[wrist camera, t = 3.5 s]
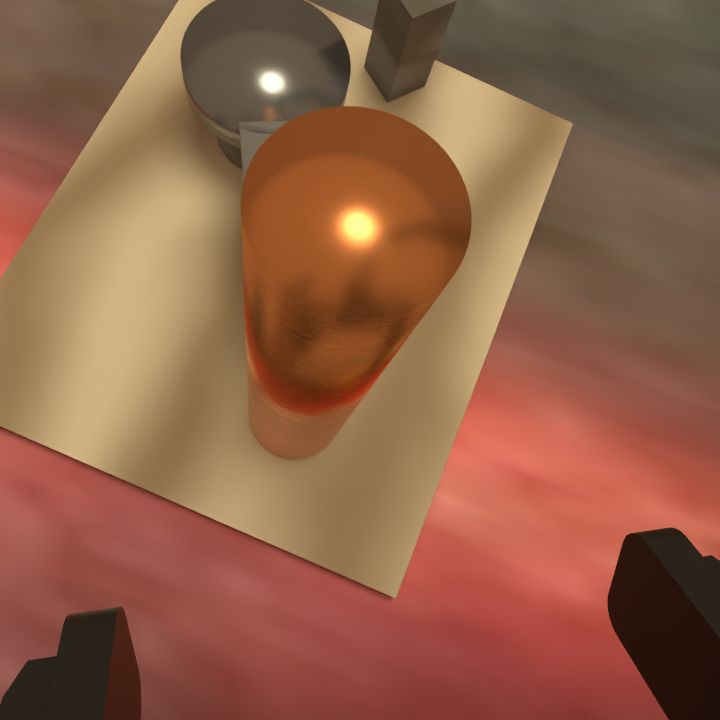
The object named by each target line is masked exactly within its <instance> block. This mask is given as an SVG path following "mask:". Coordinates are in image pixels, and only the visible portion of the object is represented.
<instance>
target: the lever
mask: <svg viewBox="0 0 720 720" xmlns="http://www.w3.org/2000/svg"><path fill="white" fill-rule="evenodd" d="M180 61H181V68H182V74H183V81H184V87H185V93H186V96H187V99H188V102H189V104H190V106H191V108H192V110H193V112H194V113H195V115H196V116H197V118H198V119H199V120H200V121H201V123H202V124H203V125H204V126H205V127H206V128H207V129H208V130H209V131H211V132H212V133H213V134H214V135H216V136H217V137H219V138H220V139H222V140H224V141H225V142H227V143H229V144H231V145H234V146H236V147H239V148H240V152H241V163H242V173H243V185H242V192H241V228H242V253H243V279H244V304H245V329H246V354H247V379H248V405H249V420H250V425H251V428H252V431H253V433H254V435H255V437H256V438H257V440H258V441H259V442H260V443H261V445H263V446H264V447H265V448H266V449H267V450H269V451H270V452H272V453H274V454H276V455H278V456H281V457H284V458H290V459H301V458H306V457H309V456H312V455H315V454H317V453H319V452H320V451H322V450H323V449H324V448H325V447H327V446H328V445H329V444H330V442H331V441H332V440H333V439H334V437H335V436H336V435H337V433H338V432H339V430H340V429H341V428H342V426H343V425H344V424H345V422H346V421H347V420H348V418H349V417H350V416H351V414H352V413H353V412H354V410H355V409H356V407H357V406H358V405H359V403H360V402H361V401H362V399H363V398H364V397H365V395H366V394H367V393H368V391H369V390H370V389H371V387H372V386H373V384H374V383H375V382H376V380H377V379H378V378H379V376H380V375H381V374H382V372H383V371H384V370H385V368H386V367H387V366H388V364H389V363H390V361H391V360H392V359H393V357H394V356H395V355H396V353H397V352H398V351H399V349H400V348H401V347H402V345H403V344H404V342H405V341H406V340H407V338H408V337H409V336H410V334H411V333H412V332H413V330H414V329H415V328H416V326H417V325H418V324H419V322H420V321H421V319H422V318H423V317H424V315H425V314H426V313H427V311H428V310H429V309H430V307H431V306H432V305H433V303H434V302H435V301H436V299H437V298H438V296H439V295H440V294H441V292H442V291H443V290H444V288H445V287H446V286H447V284H448V283H449V282H450V280H451V279H452V277H453V276H454V274H455V273H456V272H457V270H458V269H459V267H460V265H461V263H462V261H463V259H464V257H465V254H466V251H467V248H468V245H469V240H470V235H471V223H472V215H471V206H470V200H469V196H468V192H467V189H466V186H465V184H464V181H463V178H462V176H461V174H460V172H459V171H458V169H457V167H456V165H455V164H454V162H453V161H452V159H451V158H450V157H449V155H448V154H447V153H446V151H445V150H444V149H443V148H442V147H441V146H440V145H439V144H438V143H437V142H436V141H435V140H434V139H433V138H432V137H430V136H429V135H428V134H427V133H426V132H424V131H423V130H421V129H420V128H418V127H417V126H415V125H414V124H412V123H410V122H408V121H406V120H404V119H402V118H400V117H398V116H395V115H393V114H390V113H388V112H384V111H380V110H376V109H372V108H365V107H358V106H344V104H345V100H346V95H347V90H348V86H349V81H350V73H351V62H350V55H349V51H348V48H347V45H346V42H345V40H344V38H343V36H342V34H341V33H340V31H339V30H338V28H337V27H336V25H335V24H334V23H333V22H332V21H331V20H330V19H329V18H328V16H326V15H325V14H324V13H323V12H322V11H321V10H319V9H318V8H316V7H315V6H313V5H312V4H310V3H308V2H306V1H305V0H215V1H213V2H211V3H209V4H208V5H207V6H205V7H204V8H203V9H202V10H201V11H200V12H199V13H198V14H197V15H196V16H195V17H194V18H193V20H192V21H191V22H190V24H189V26H188V27H187V29H186V31H185V34H184V37H183V40H182V44H181V50H180Z"/></svg>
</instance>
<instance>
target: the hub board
mask: <svg viewBox="0 0 720 720" xmlns="http://www.w3.org/2000/svg"><path fill="white" fill-rule="evenodd" d="M213 1H215V0H179V1H178V3H177V4H176V6H175V7H174V9H173V10H172V12H171V13H170V15H169V17H168V18H167V20H166V21H165V23H164V24H163V26H162V28H161V29H160V31H159V32H158V34H157V35H156V37H155V38H154V40H153V42H152V43H151V45H150V46H149V48H148V49H147V51H146V53H145V54H144V56H143V57H142V59H141V60H140V62H139V63H138V65H137V67H136V68H135V70H134V71H133V73H132V74H131V76H130V77H129V79H128V81H127V82H126V84H125V85H124V87H123V88H122V90H121V92H120V93H119V95H118V96H117V98H116V99H115V101H114V102H113V104H112V106H111V107H110V109H109V110H108V112H107V113H106V115H105V116H104V118H103V120H102V121H101V123H100V124H99V126H98V127H97V129H96V131H95V132H94V134H93V135H92V137H91V138H90V140H89V141H88V143H87V145H86V146H85V148H84V149H83V151H82V152H81V154H80V155H79V157H78V159H77V160H76V162H75V163H74V165H73V166H72V168H71V170H70V171H69V173H68V174H67V176H66V177H65V179H64V180H63V182H62V184H61V185H60V187H59V188H58V190H57V191H56V193H55V195H54V196H53V198H52V199H51V201H50V202H49V204H48V205H47V207H46V209H45V210H44V212H43V213H42V215H41V216H40V218H39V219H38V221H37V223H36V224H35V226H34V227H33V229H32V230H31V232H30V234H29V235H28V237H27V238H26V240H25V241H24V243H23V244H22V246H21V248H20V249H19V251H18V252H17V254H16V255H15V257H14V258H13V260H12V262H11V263H10V265H9V266H8V268H7V269H6V271H5V273H4V274H3V276H2V277H1V279H0V427H3V428H5V429H7V430H10V431H12V432H14V433H17V434H19V435H21V436H23V437H26V438H28V439H30V440H33V441H35V442H37V443H40V444H42V445H44V446H46V447H49V448H51V449H53V450H56V451H58V452H60V453H62V454H65V455H67V456H69V457H72V458H74V459H76V460H79V461H81V462H83V463H85V464H88V465H90V466H92V467H95V468H97V469H99V470H101V471H104V472H106V473H108V474H111V475H113V476H115V477H118V478H120V479H122V480H124V481H127V482H129V483H131V484H134V485H136V486H138V487H140V488H143V489H145V490H147V491H150V492H152V493H154V494H157V495H159V496H161V497H163V498H166V499H168V500H170V501H173V502H175V503H177V504H179V505H182V506H184V507H186V508H189V509H191V510H193V511H196V512H198V513H200V514H202V515H205V516H207V517H209V518H212V519H214V520H216V521H218V522H221V523H223V524H225V525H228V526H230V527H232V528H235V529H237V530H239V531H241V532H244V533H246V534H248V535H251V536H253V537H255V538H257V539H260V540H262V541H264V542H267V543H269V544H271V545H274V546H276V547H278V548H280V549H283V550H285V551H287V552H290V553H292V554H294V555H297V556H299V557H301V558H303V559H306V560H308V561H310V562H313V563H315V564H317V565H319V566H322V567H324V568H326V569H329V570H331V571H333V572H336V573H338V574H340V575H342V576H345V577H347V578H349V579H352V580H354V581H356V582H358V583H361V584H363V585H365V586H368V587H370V588H372V589H375V590H377V591H379V592H381V593H384V594H386V595H388V596H391V597H393V598H396V596H397V594H398V591H399V588H400V586H401V583H402V580H403V577H404V575H405V572H406V569H407V567H408V564H409V561H410V559H411V556H412V553H413V551H414V548H415V545H416V543H417V540H418V537H419V535H420V532H421V529H422V527H423V524H424V521H425V519H426V516H427V513H428V510H429V508H430V505H431V502H432V500H433V497H434V494H435V492H436V489H437V486H438V484H439V481H440V478H441V476H442V473H443V470H444V468H445V465H446V462H447V460H448V457H449V454H450V452H451V449H452V446H453V443H454V441H455V438H456V435H457V433H458V430H459V427H460V425H461V422H462V419H463V417H464V414H465V411H466V409H467V406H468V403H469V401H470V398H471V395H472V393H473V390H474V387H475V385H476V382H477V379H478V376H479V374H480V371H481V368H482V366H483V363H484V360H485V358H486V355H487V352H488V350H489V347H490V344H491V342H492V339H493V336H494V334H495V331H496V328H497V326H498V323H499V320H500V318H501V315H502V312H503V309H504V307H505V304H506V301H507V299H508V296H509V293H510V291H511V288H512V285H513V283H514V280H515V277H516V275H517V272H518V269H519V267H520V264H521V261H522V259H523V256H524V253H525V251H526V248H527V245H528V242H529V240H530V237H531V234H532V232H533V229H534V226H535V224H536V221H537V218H538V216H539V213H540V210H541V208H542V205H543V202H544V200H545V197H546V194H547V192H548V189H549V186H550V184H551V181H552V178H553V175H554V173H555V170H556V167H557V165H558V162H559V159H560V157H561V154H562V151H563V149H564V146H565V143H566V141H567V138H568V135H569V133H570V130H571V127H572V125H573V123H570V122H568V121H566V120H564V119H562V118H560V117H557V116H555V115H553V114H551V113H549V112H547V111H544V110H542V109H540V108H538V107H536V106H534V105H531V104H529V103H527V102H525V101H523V100H521V99H519V98H516V97H514V96H512V95H510V94H508V93H506V92H503V91H501V90H499V89H497V88H495V87H493V86H490V85H488V84H486V83H484V82H482V81H480V80H478V79H475V78H473V77H471V76H469V75H467V74H465V73H462V72H460V71H458V70H456V69H454V68H452V67H449V66H447V65H445V64H443V63H441V62H439V61H436V60H435V58H436V55H437V53H438V50H439V47H440V45H441V42H442V39H443V37H444V34H445V31H446V28H447V26H448V23H449V20H450V18H451V15H452V12H453V10H454V7H455V4H456V2H457V0H379V3H378V8H377V12H376V16H375V21H374V25H373V30H370V29H367V28H365V27H363V26H361V25H359V24H357V23H354V22H352V21H350V20H348V19H346V18H344V17H341V16H339V15H337V14H335V13H333V12H331V11H329V10H326V9H324V8H322V7H320V6H318V5H316V4H313V3H311V2H309V1H307V0H305V1H306V2H308V3H310V4H312V5H313V6H315V7H316V8H318V9H319V10H321V11H322V12H323V13H324V14H325V15H326V16H328V18H329V19H330V20H331V21H332V22H333V23H334V24H335V25H336V27H337V28H338V30H339V31H340V33H341V34H342V36H343V38H344V40H345V42H346V45H347V48H348V51H349V55H350V62H351V73H350V81H349V86H348V90H347V95H346V100H345V104H344V106H358V107H365V108H372V109H376V110H380V111H384V112H388V113H390V114H393V115H395V116H398V117H400V118H402V119H404V120H406V121H408V122H410V123H412V124H414V125H415V126H417V127H418V128H420V129H421V130H423V131H424V132H426V133H427V134H428V135H429V136H430V137H432V138H433V139H434V140H435V141H436V142H437V143H438V144H439V145H440V146H441V147H442V148H443V149H444V150H445V151H446V153H447V154H448V155H449V157H450V158H451V159H452V161H453V162H454V164H455V165H456V167H457V169H458V171H459V172H460V174H461V176H462V178H463V181H464V184H465V186H466V189H467V192H468V196H469V200H470V206H471V215H472V223H471V235H470V240H469V245H468V248H467V251H466V254H465V257H464V259H463V261H462V263H461V265H460V267H459V269H458V270H457V272H456V273H455V274H454V276H453V277H452V279H451V280H450V282H449V283H448V284H447V286H446V287H445V288H444V290H443V291H442V292H441V294H440V295H439V296H438V298H437V299H436V301H435V302H434V303H433V305H432V306H431V307H430V309H429V310H428V311H427V313H426V314H425V315H424V317H423V318H422V319H421V321H420V322H419V324H418V325H417V326H416V328H415V329H414V330H413V332H412V333H411V334H410V336H409V337H408V338H407V340H406V341H405V342H404V344H403V345H402V347H401V348H400V349H399V351H398V352H397V353H396V355H395V356H394V357H393V359H392V360H391V361H390V363H389V364H388V366H387V367H386V368H385V370H384V371H383V372H382V374H381V375H380V376H379V378H378V379H377V380H376V382H375V383H374V384H373V386H372V387H371V389H370V390H369V391H368V393H367V394H366V395H365V397H364V398H363V399H362V401H361V402H360V403H359V405H358V406H357V407H356V409H355V410H354V412H353V413H352V414H351V416H350V417H349V418H348V420H347V421H346V422H345V424H344V425H343V426H342V428H341V429H340V430H339V432H338V433H337V435H336V436H335V437H334V439H333V440H332V441H331V442H330V444H329V445H328V446H327V447H325V448H324V449H323V450H322V451H320V452H319V453H317V454H315V455H312V456H309V457H306V458H301V459H290V458H284V457H281V456H278V455H276V454H274V453H272V452H270V451H269V450H267V449H266V448H265V447H264V446H263V445H261V443H260V442H259V441H258V440H257V438H256V437H255V435H254V433H253V431H252V428H251V425H250V420H249V405H248V379H247V354H246V329H245V304H244V279H243V253H242V228H241V192H242V185H243V173H242V163H241V152H240V148H239V147H236V146H234V145H231V144H229V143H227V142H225V141H224V140H222V139H220V138H219V137H217V136H216V135H214V134H213V133H212V132H211V131H209V130H208V129H207V128H206V127H205V126H204V125H203V124H202V123H201V121H200V120H199V119H198V118H197V116H196V115H195V113H194V112H193V110H192V108H191V106H190V104H189V102H188V99H187V96H186V93H185V87H184V81H183V74H182V68H181V61H180V50H181V44H182V40H183V37H184V34H185V31H186V29H187V27H188V26H189V24H190V22H191V21H192V20H193V18H194V17H195V16H196V15H197V14H198V13H199V12H200V11H201V10H202V9H203V8H204V7H205V6H207V5H208V4H209V3H211V2H213Z"/></svg>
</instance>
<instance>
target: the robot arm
mask: <svg viewBox="0 0 720 720" xmlns="http://www.w3.org/2000/svg"><path fill="white" fill-rule="evenodd" d="M608 612H609V617H610V620H611V623H612V626H613V628H614V631H615V633H616V634H617V636H618V638H619V639H620V641H621V643H622V644H623V646H624V648H625V649H626V651H627V652H628V654H629V656H630V657H631V659H632V661H633V662H634V664H635V665H636V667H637V669H638V670H639V672H640V674H641V675H642V677H643V678H644V680H645V682H646V683H647V685H648V687H649V688H650V690H651V692H652V693H653V695H654V696H655V698H656V700H657V701H658V703H659V705H660V706H661V708H662V709H663V711H664V713H665V714H666V716H667V718H668V719H669V720H720V561H719V560H718V559H716V558H715V557H713V556H712V555H711V556H704V557H703V556H702V555H701V554H700V553H699V551H698V550H697V549H696V548H695V547H694V546H693V544H692V543H691V542H690V541H689V540H688V538H687V537H686V536H685V535H684V534H683V533H682V532H681V531H679V530H677V529H675V528H664V529H658V530H651V531H644V532H637V533H631V534H628V535H627V536H626V537H625V539H624V541H623V544H622V548H621V551H620V555H619V558H618V562H617V565H616V569H615V573H614V576H613V580H612V583H611V587H610V590H609V594H608ZM0 720H141V685H140V676H139V670H138V665H137V661H136V657H135V653H134V649H133V645H132V640H131V636H130V632H129V628H128V624H127V620H126V616H125V612H124V609H123V608H122V607H116V608H109V609H102V610H95V611H88V612H82V613H75V614H69V615H68V616H67V617H66V619H65V621H64V624H63V629H62V633H61V638H60V643H59V648H58V653H57V656H55V657H48V658H42V659H36V660H29V661H27V663H26V664H25V666H24V667H23V668H22V670H21V671H20V673H19V674H18V676H17V677H16V679H15V680H14V682H13V683H12V685H11V686H10V687H9V689H8V690H7V692H6V693H5V695H4V696H3V698H2V701H1V705H0Z"/></svg>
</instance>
